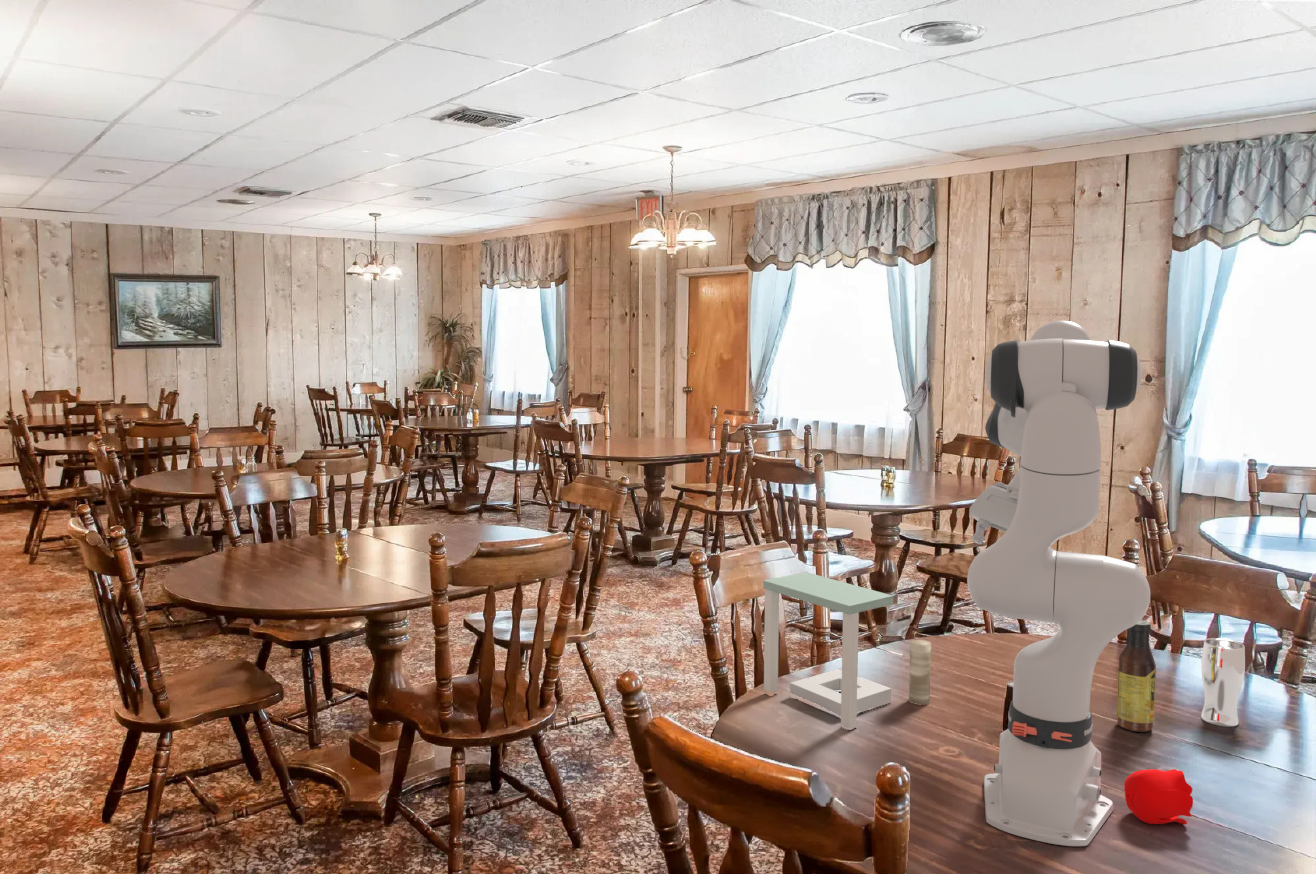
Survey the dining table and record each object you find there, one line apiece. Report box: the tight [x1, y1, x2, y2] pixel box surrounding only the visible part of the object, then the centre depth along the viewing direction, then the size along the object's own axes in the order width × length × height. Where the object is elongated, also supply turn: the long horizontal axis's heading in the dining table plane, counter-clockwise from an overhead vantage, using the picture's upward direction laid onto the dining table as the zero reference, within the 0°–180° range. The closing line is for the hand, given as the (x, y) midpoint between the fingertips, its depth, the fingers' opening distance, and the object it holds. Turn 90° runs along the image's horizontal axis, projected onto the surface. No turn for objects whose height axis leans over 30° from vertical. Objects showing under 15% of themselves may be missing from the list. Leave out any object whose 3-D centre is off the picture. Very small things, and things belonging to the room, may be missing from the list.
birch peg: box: [908, 639, 932, 706], centre depth 185 cm, size 4×4×12 cm
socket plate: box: [789, 668, 892, 716], centre depth 186 cm, size 14×14×3 cm
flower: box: [1123, 768, 1194, 826], centre depth 139 cm, size 8×8×8 cm
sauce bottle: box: [1116, 619, 1157, 733], centre depth 173 cm, size 7×6×20 cm
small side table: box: [762, 571, 894, 728], centre depth 183 cm, size 12×23×24 cm, turn 36°
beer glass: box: [1200, 637, 1246, 728], centre depth 176 cm, size 7×7×15 cm
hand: (992, 549), depth 185 cm, fingers open, 8 cm apart
